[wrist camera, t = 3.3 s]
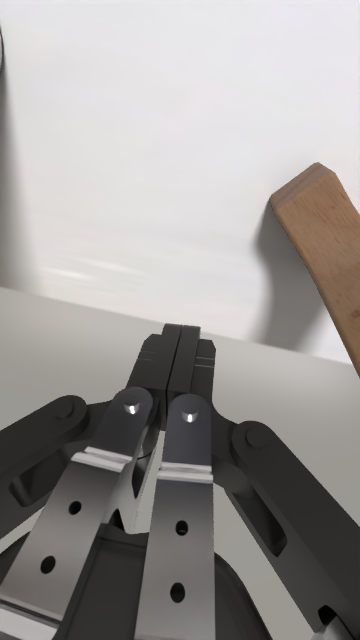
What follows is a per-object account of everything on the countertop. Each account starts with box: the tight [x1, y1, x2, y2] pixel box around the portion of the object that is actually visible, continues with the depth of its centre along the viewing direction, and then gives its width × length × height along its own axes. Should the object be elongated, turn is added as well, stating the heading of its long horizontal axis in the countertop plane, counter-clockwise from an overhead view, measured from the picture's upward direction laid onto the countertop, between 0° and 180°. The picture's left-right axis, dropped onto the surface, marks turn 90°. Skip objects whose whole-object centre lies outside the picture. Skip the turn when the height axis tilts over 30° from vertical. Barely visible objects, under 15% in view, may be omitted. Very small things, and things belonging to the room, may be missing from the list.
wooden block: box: [269, 162, 360, 378], centre depth 18 cm, size 9×4×18 cm, turn 40°
